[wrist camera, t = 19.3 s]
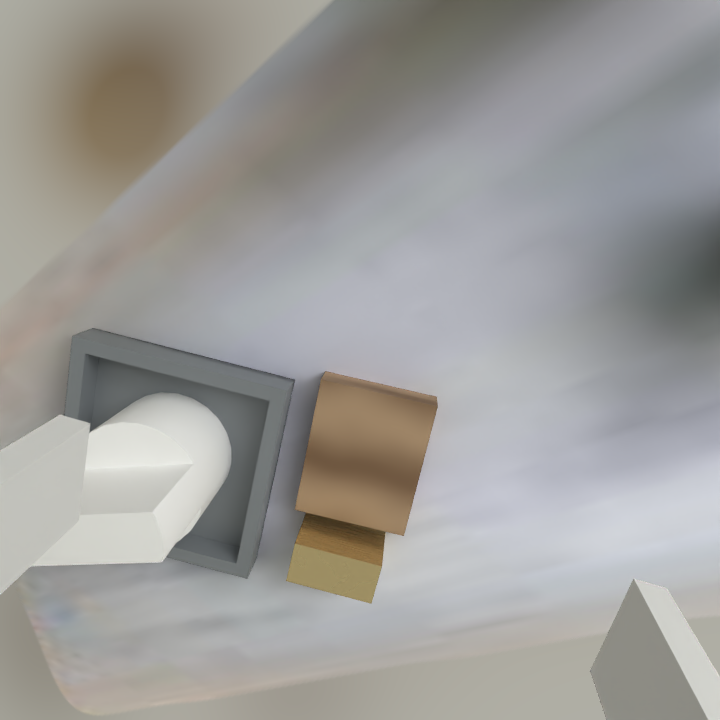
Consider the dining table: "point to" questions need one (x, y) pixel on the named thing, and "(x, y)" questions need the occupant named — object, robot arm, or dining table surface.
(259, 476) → the tray
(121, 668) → the dining table surface
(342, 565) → the block
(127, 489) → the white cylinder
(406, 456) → the tan rounded-edge slab
